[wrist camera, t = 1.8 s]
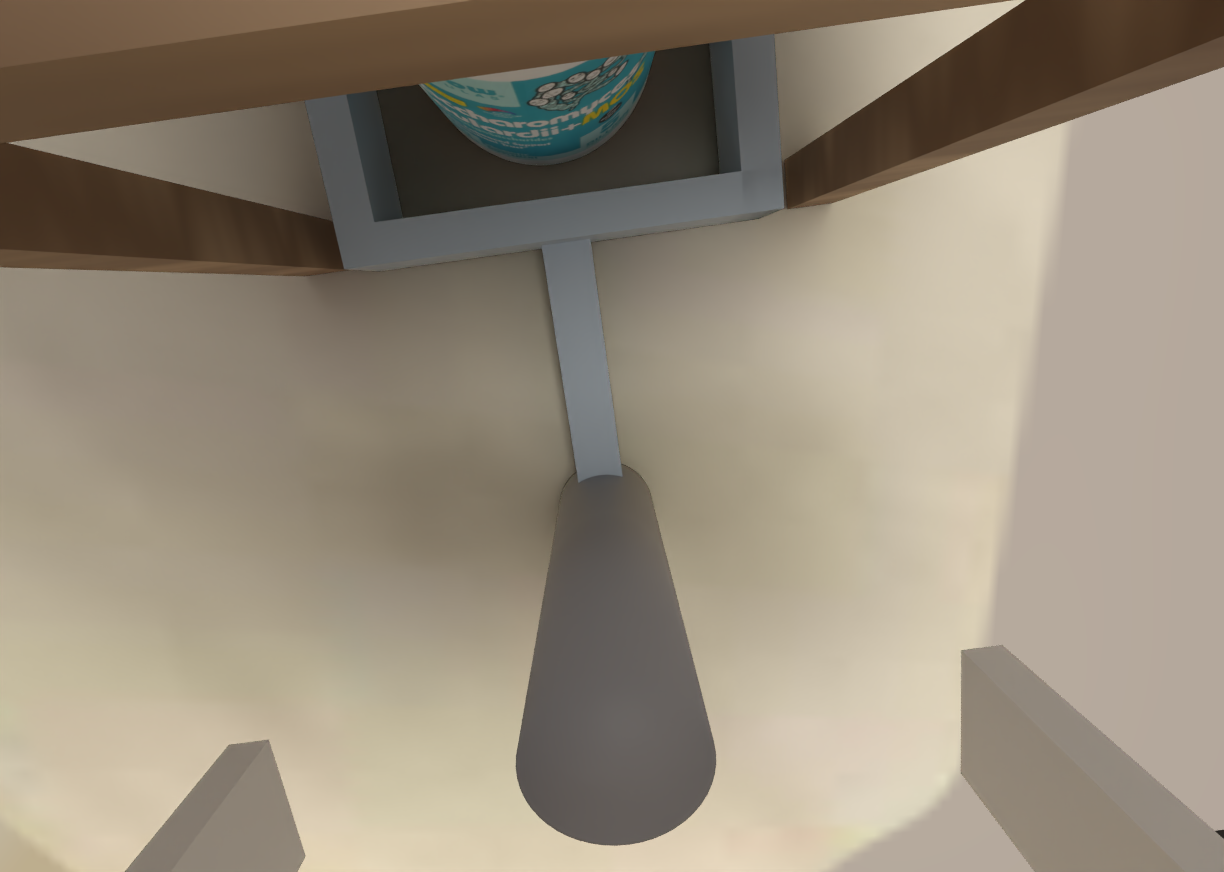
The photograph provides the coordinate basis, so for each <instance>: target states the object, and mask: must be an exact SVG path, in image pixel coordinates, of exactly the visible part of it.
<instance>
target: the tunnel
mask: <svg viewBox="0 0 1224 872" xmlns="http://www.w3.org/2000/svg"><path fill="white" fill-rule="evenodd" d="M1003 1H1011V0H0V267H11V268H44V269H78V270H112V271H146V272H180V273H214V274H248V275H282V276H310V275H317V274H324V273H331V272H338V271H346V270H348V269H344V266H343V262H342V258H341V253H340V249H339V245H338V241H337V236H336V232H335V228H334V224H333V221H329V220H325V219H321V218H317V217H313V216H309V215H305V214H300V213H296V212H292V211H288V210H284V209H280V208H275V207H271V206H267V205H263V204H259V203H255V202H250V201H246V200H242V199H238V198H234V197H230V196H225V195H221V194H217V193H213V192H209V191H205V190H200V189H196V188H192V187H188V186H184V185H180V184H175V183H171V182H167V181H163V180H159V179H155V178H151V177H146V176H142V175H138V174H134V173H130V172H126V171H121V170H117V169H113V168H109V167H105V166H101V165H96V164H92V163H88V162H84V161H80V160H76V159H71V158H67V157H63V156H59V155H55V154H51V153H46V152H42V151H38V150H34V149H30V148H26V147H21V146H17V145H13V144H9V143H8V142H15V141H22V140H29V139H36V138H43V137H50V136H57V135H64V134H71V133H78V132H85V131H92V130H100V129H107V128H114V127H121V126H128V125H135V124H142V123H149V122H156V121H163V120H170V119H177V118H184V117H191V116H198V115H205V114H212V113H220V112H227V111H234V110H241V109H248V108H255V107H262V106H269V105H276V104H283V103H290V102H297V101H304V100H311V99H318V98H325V97H333V96H340V95H347V94H354V93H361V92H368V91H375V90H382V89H389V88H396V87H403V86H410V85H417V84H424V83H431V82H438V81H446V80H453V79H460V78H467V77H474V76H481V75H488V74H495V73H502V72H509V71H516V70H523V69H530V68H537V67H544V66H551V65H559V64H566V63H573V62H580V61H587V60H594V59H601V58H608V57H615V56H622V55H629V54H636V53H643V52H650V51H657V50H664V49H672V48H679V47H686V46H693V45H700V44H707V43H714V42H721V41H728V40H735V39H742V38H749V37H756V36H763V35H770V34H777V33H785V32H792V31H799V30H806V29H813V28H820V27H827V26H834V25H841V24H848V23H855V22H862V21H869V20H876V19H883V18H890V17H898V16H905V15H912V14H919V13H926V12H933V11H940V10H947V9H954V8H961V7H968V6H975V5H982V4H989V3H996V2H1003ZM1222 67H1224V0H1025V1H1024V2H1022V3H1021V4H1019V5H1018V6H1016V7H1015V8H1013V9H1012V10H1010V11H1009V12H1007V13H1006V14H1004V15H1003V16H1001V17H1000V18H998V19H997V20H995V21H994V22H992V23H991V24H989V25H988V26H986V27H985V28H983V29H982V30H980V31H979V32H977V33H976V34H974V35H973V36H971V37H970V38H968V39H966V40H965V41H963V42H962V43H960V44H959V45H957V46H956V47H954V48H953V49H951V50H950V51H948V52H947V53H945V54H944V55H942V56H941V57H939V58H938V59H936V60H935V61H933V62H932V63H930V64H929V65H927V66H926V67H924V68H923V69H921V70H920V71H918V72H917V73H915V74H914V75H912V76H911V77H909V78H908V79H906V80H905V81H903V82H902V83H900V84H899V85H897V86H896V87H894V88H893V89H891V90H890V91H888V92H887V93H885V94H884V95H882V96H881V97H879V98H878V99H876V100H875V101H873V102H872V103H870V104H869V105H867V106H866V107H864V108H863V109H861V110H860V111H858V112H857V113H855V114H854V115H852V116H851V117H849V118H848V119H846V120H845V121H843V122H842V123H840V124H839V125H837V126H836V127H834V128H833V129H831V130H829V131H828V132H826V133H825V134H823V135H822V136H820V137H819V138H817V139H816V140H814V141H813V142H811V143H810V144H808V145H807V146H805V147H804V148H802V149H801V150H799V151H798V152H796V153H795V154H793V155H792V156H790V157H789V158H787V159H786V160H785V175H786V192H787V209H792V208H799V207H807V206H814V205H821V204H828V203H834V202H837V201H840V200H842V199H845V198H848V197H851V196H854V195H857V194H860V193H863V192H865V191H868V190H871V189H874V188H877V187H880V186H883V185H886V184H888V183H891V182H894V181H897V180H900V179H903V178H906V177H909V176H911V175H914V174H917V173H920V172H923V171H926V170H929V169H932V168H935V167H937V166H940V165H943V164H946V163H949V162H952V161H955V160H958V159H960V158H963V157H966V156H969V155H972V154H975V153H978V152H981V151H983V150H986V149H989V148H992V147H995V146H998V145H1001V144H1004V143H1006V142H1009V141H1012V140H1015V139H1018V138H1021V137H1024V136H1027V135H1029V134H1032V133H1035V132H1038V131H1041V130H1044V129H1047V128H1050V127H1052V126H1055V125H1058V124H1061V123H1064V122H1067V121H1070V120H1073V119H1075V118H1078V117H1081V116H1084V115H1087V114H1090V113H1093V112H1096V111H1098V110H1101V109H1104V108H1107V107H1110V106H1113V105H1116V104H1119V103H1121V102H1124V101H1127V100H1130V99H1133V98H1135V97H1139V96H1142V95H1144V94H1147V93H1150V92H1153V91H1156V90H1159V89H1162V88H1164V87H1167V86H1170V85H1173V84H1176V83H1179V82H1182V81H1185V80H1187V79H1190V78H1193V77H1196V76H1199V75H1202V74H1205V73H1208V72H1210V71H1213V70H1216V69H1219V68H1222Z"/></svg>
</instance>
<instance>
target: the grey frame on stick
mask: <svg viewBox="0 0 1224 872" xmlns="http://www.w3.org/2000/svg"><path fill="white" fill-rule="evenodd" d="M709 46H710V58H711V70H712V82H713V94H714V107H715V119H716V131H717V143H718V155H719V167H720V174H716V175H709V176H702V177H695V178H688V179H681V180H673V181H666V182H659V183H652V184H645V185H638V186H630V187H623V188H616V189H609V190H602V191H595V192H587V193H580V194H573V195H566V196H559V197H552V198H544V199H537V200H530V201H523V202H516V203H509V204H501V205H494V206H487V207H480V208H473V209H465V210H458V211H451V212H444V213H437V214H430V215H422V216H415V217H408V218H403V216H402V211H401V207H400V202H399V197H398V192H397V187H396V183H395V178H394V173H393V168H392V163H391V159H390V154H389V149H388V144H387V139H386V135H385V130H384V125H383V120H382V115H381V111H380V106H379V101H378V96H377V91H376V90H375V91H368V92H361V93H354V94H347V95H340V96H333V97H325V98H318V99H311V100H304V101H305V105H306V109H307V114H308V118H309V122H310V126H311V130H312V135H313V139H314V143H315V147H316V152H317V156H318V160H319V164H320V169H321V173H322V177H323V181H324V186H325V190H326V194H327V198H328V203H329V207H330V211H331V215H332V220H333V224H334V228H335V232H336V236H337V241H338V245H339V249H340V253H341V258H342V262H343V266H344V269H348V270H364V271H386V270H393V269H400V268H408V267H415V266H422V265H429V264H436V263H444V262H451V261H458V260H465V259H472V258H480V257H487V256H494V255H501V254H508V253H516V252H523V251H530V250H537V249H542V252H543V259H544V265H545V271H546V278H547V284H548V291H549V297H550V304H551V310H552V316H553V323H554V329H555V336H556V342H557V349H558V355H559V361H560V368H561V374H562V381H563V387H564V394H565V400H566V406H567V413H568V419H569V426H570V432H571V439H572V445H573V451H574V458H575V464H576V471H577V472H576V473H575V474H574V475H572V477H571V478H570V479H569V480H568V482H567V483H566V484H565V486H564V489H563V491H562V494H561V498H560V504H559V510H558V516H557V521H556V527H555V533H554V539H553V545H552V551H551V556H550V562H549V568H548V574H547V580H546V585H545V591H544V597H543V603H542V609H541V615H540V620H539V626H538V632H537V638H536V644H535V649H534V655H533V661H532V667H531V673H530V679H529V684H528V690H527V696H526V702H525V708H524V713H523V719H522V725H521V731H520V737H519V743H518V748H517V754H516V772H517V779H518V782H519V786H520V789H521V791H522V793H523V796H524V798H525V799H526V801H527V803H528V804H529V806H530V807H531V808H532V810H533V811H534V812H535V813H536V814H537V815H538V816H539V817H540V818H541V819H542V820H543V821H544V822H545V823H547V824H548V825H549V826H551V827H552V828H554V829H555V830H557V831H559V832H561V833H563V834H565V835H567V836H569V837H571V838H574V839H577V840H580V841H584V842H588V843H592V844H599V845H629V844H634V843H640V842H644V841H647V840H651V839H654V838H656V837H659V836H661V835H663V834H665V833H667V832H669V831H671V830H673V829H674V828H676V827H677V826H679V825H680V824H682V823H683V822H684V821H686V820H687V819H688V818H689V817H690V816H691V815H692V814H693V813H694V812H695V811H696V810H697V808H698V807H699V806H700V805H701V804H702V802H703V800H704V799H705V797H706V796H707V794H708V792H709V789H710V787H711V785H712V782H713V778H714V775H715V768H716V751H715V746H714V741H713V737H712V733H711V729H710V725H709V721H708V717H707V713H706V709H705V705H704V701H703V698H702V694H701V690H700V686H699V682H698V678H697V674H696V670H695V666H694V662H693V658H692V654H691V651H690V647H689V643H688V639H687V635H686V631H685V627H684V623H683V619H682V615H681V611H680V607H679V603H678V600H677V596H676V592H675V588H674V584H673V580H672V576H671V572H670V568H669V564H668V560H667V556H666V553H665V549H664V545H663V541H662V537H661V533H660V529H659V525H658V521H657V517H656V513H655V509H654V506H653V502H652V498H651V494H650V491H649V488H648V486H647V484H646V483H645V481H644V480H643V479H642V477H641V476H640V475H639V474H638V473H636V472H635V471H634V470H632V469H631V468H629V467H627V466H625V465H622V464H621V461H620V453H619V446H618V438H617V431H616V424H615V416H614V409H613V402H612V394H611V387H610V380H609V372H608V365H607V357H606V350H605V343H604V335H603V328H602V321H601V313H600V306H599V299H598V291H597V284H596V276H595V269H594V262H593V254H592V247H591V242H595V241H602V240H609V239H617V238H624V237H631V236H638V235H645V234H653V233H660V232H667V231H674V230H681V229H689V228H696V227H703V226H710V225H718V224H725V223H732V222H739V221H746V220H754V219H759V218H762V217H764V216H766V215H769V214H771V213H774V212H776V211H779V210H781V209H784V194H783V176H782V159H781V142H780V125H779V108H778V91H777V74H776V57H775V40H774V34H770V35H763V36H756V37H749V38H742V39H735V40H728V41H721V42H714V43H709Z"/></svg>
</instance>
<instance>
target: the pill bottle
mask: <svg viewBox="0 0 1224 872" xmlns="http://www.w3.org/2000/svg"><path fill="white" fill-rule="evenodd" d="M654 54H655V51H650V52H643V53H636V54H629V55H622V56H615V57H608V58H601V59H594V60H587V61H580V62H573V63H566V64H559V65H551V66H544V67H537V68H530V69H523V70H516V71H509V72H502V73H495V74H488V75H481V76H474V77H467V78H460V79H453V80H446V81H438V82H431V83H424V84H419V85H420V87H421V88H422V89H423V90H424V91H425V92H426V93H427V95H428V96H429V97H430V98H431V99H432V100H433V102H434V103H435V104H436V105H437V106H438V107H439V109H440V110H441V111H442V112H443V113H444V114H445V116H446V117H447V118H448V119H449V120H450V121H451V122H452V123H453V124H454V125H455V126H456V127H457V128H458V129H459V131H460V132H461V133H462V134H464V135H465V136H466V137H467V138H468V139H469V140H471V141H472V142H473V143H475V144H476V145H477V146H479V147H481V148H482V149H484V150H486V151H487V152H489V153H491V154H493V155H495V156H498V157H500V158H502V159H505V160H508V161H512V162H515V163H520V164H527V165H553V164H560V163H564V162H568V161H572V160H574V159H577V158H580V157H582V156H584V155H586V154H589V153H590V152H592V151H594V150H595V149H597V148H598V147H600V146H601V145H603V144H604V143H605V142H606V141H608V140H609V139H610V138H611V137H612V136H613V135H614V134H615V133H616V132H617V131H618V130H619V129H620V128H621V127H622V125H623V124H624V123H625V122H626V120H627V119H628V117H629V116H630V115H631V113H632V112H633V110H634V108H635V106H636V104H637V103H638V101H639V99H640V97H641V94H642V92H643V90H644V87H645V84H646V81H647V78H648V74H649V71H650V68H651V64H652V61H653V57H654Z"/></svg>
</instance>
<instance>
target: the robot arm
mask: <svg viewBox="0 0 1224 872" xmlns="http://www.w3.org/2000/svg"><path fill="white" fill-rule="evenodd" d="M961 774H962V776H963V777H964V778H965V780H966V781H967V782H968V784H969V785H970V786H971V787H972V789H973V790H974V792H975V793H976V794H977V796H978V797H979V798H980V799H981V801H982V802H983V803H984V805H985V806H986V808H987V809H988V810H989V811H990V813H991V814H992V816H993V817H994V818H995V820H996V821H997V822H998V824H999V825H1000V826H1001V827H1002V829H1003V830H1004V831H1005V833H1006V834H1007V836H1008V837H1009V838H1010V839H1011V841H1012V842H1013V844H1014V845H1015V846H1016V848H1017V849H1018V850H1019V851H1020V853H1021V854H1022V855H1023V857H1024V858H1025V859H1026V861H1027V862H1028V863H1029V865H1030V866H1031V867H1032V869H1033V870H1034V871H1035V872H1224V830H1218V831H1214V830H1213V829H1212V828H1211V827H1209V826H1208V825H1207V824H1206V823H1205V822H1204V821H1203V820H1201V819H1200V818H1199V817H1198V816H1197V815H1196V814H1195V813H1194V812H1192V811H1191V810H1190V809H1189V808H1188V807H1187V806H1186V805H1184V804H1183V803H1182V802H1181V801H1180V800H1179V799H1178V798H1176V797H1175V796H1174V795H1173V794H1172V793H1171V792H1170V791H1168V790H1167V789H1166V788H1165V787H1164V786H1163V785H1162V784H1160V783H1159V782H1158V781H1157V780H1156V779H1155V778H1153V777H1152V776H1151V775H1150V774H1149V773H1148V772H1147V771H1146V770H1144V769H1143V768H1142V767H1141V766H1140V765H1139V764H1138V763H1137V762H1135V761H1134V760H1133V759H1132V758H1131V757H1130V756H1129V755H1127V754H1126V753H1125V752H1124V751H1123V750H1122V749H1121V748H1119V747H1118V746H1117V745H1116V744H1115V743H1114V742H1112V741H1111V740H1110V739H1109V738H1108V737H1107V736H1106V735H1105V734H1103V733H1102V732H1101V731H1100V730H1099V729H1098V728H1096V727H1095V726H1094V725H1093V724H1092V723H1091V722H1090V721H1089V720H1087V719H1086V718H1085V717H1084V716H1083V715H1082V714H1081V713H1079V712H1078V711H1077V710H1076V709H1075V708H1074V707H1073V706H1071V705H1070V704H1069V703H1068V702H1067V701H1066V700H1065V699H1063V698H1062V697H1061V696H1060V695H1059V694H1058V693H1057V692H1055V691H1054V690H1053V689H1052V688H1051V687H1050V686H1049V685H1047V684H1046V683H1045V682H1044V681H1043V680H1042V679H1041V678H1039V677H1038V676H1037V675H1036V674H1035V673H1034V672H1033V671H1031V670H1030V669H1029V668H1028V667H1027V666H1026V665H1025V664H1024V663H1022V662H1021V661H1020V660H1019V659H1018V658H1016V656H1014V655H1013V654H1012V653H1011V652H1010V651H1009V650H1007V649H1006V648H1005V647H1004V646H1003V645H999V646H991V647H983V648H975V649H968V650H961ZM304 858H305V853H304V850H303V847H302V843H301V840H300V837H299V834H298V831H297V828H296V824H295V821H294V818H293V815H292V812H291V809H290V805H289V802H288V799H287V796H286V793H285V790H284V786H283V783H282V780H281V777H280V774H279V771H278V767H277V764H276V761H275V758H274V755H273V751H272V748H271V745H270V742H269V740H263V741H255V742H247V743H240V744H232V745H228V747H227V748H226V749H225V750H224V752H223V753H222V754H221V755H220V756H219V758H218V759H217V760H216V761H215V763H214V764H213V765H212V766H211V767H210V769H209V770H208V771H207V772H206V773H205V775H204V776H203V777H202V778H201V780H200V781H199V782H198V783H197V784H196V786H195V787H194V788H193V789H192V791H191V792H190V793H189V794H188V795H187V797H186V798H185V799H184V800H183V801H182V803H181V804H180V805H179V806H178V808H177V809H176V810H175V811H174V812H173V814H172V815H171V816H170V817H169V818H168V820H167V821H166V822H165V823H164V825H163V826H162V827H161V828H160V829H159V831H158V832H157V833H156V834H155V836H154V837H153V838H152V839H151V840H150V842H149V843H148V844H147V845H146V846H145V848H144V849H143V850H142V851H141V853H140V854H139V855H138V856H137V857H136V859H135V860H134V861H133V862H132V863H131V865H130V866H129V867H128V868H127V870H126V871H125V872H298V870H299V868H300V866H301V864H302V862H303V860H304Z"/></svg>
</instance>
